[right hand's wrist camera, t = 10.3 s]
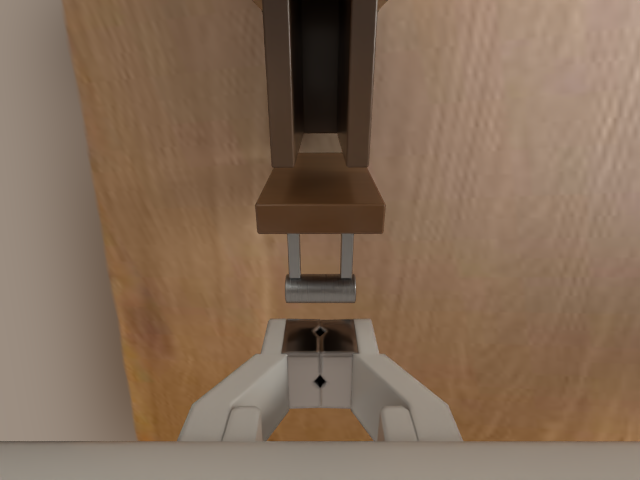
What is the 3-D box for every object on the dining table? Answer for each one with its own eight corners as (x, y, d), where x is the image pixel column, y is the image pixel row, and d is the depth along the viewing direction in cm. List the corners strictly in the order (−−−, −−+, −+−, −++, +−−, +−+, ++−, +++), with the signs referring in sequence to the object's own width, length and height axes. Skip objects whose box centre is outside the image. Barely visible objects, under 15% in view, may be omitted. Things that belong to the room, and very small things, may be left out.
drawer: (355, 258, 24) (374, 356, 16) (285, 258, 24) (267, 356, 16) (379, -275, 14) (463, -775, 6) (260, -274, 14) (173, -772, 6)
